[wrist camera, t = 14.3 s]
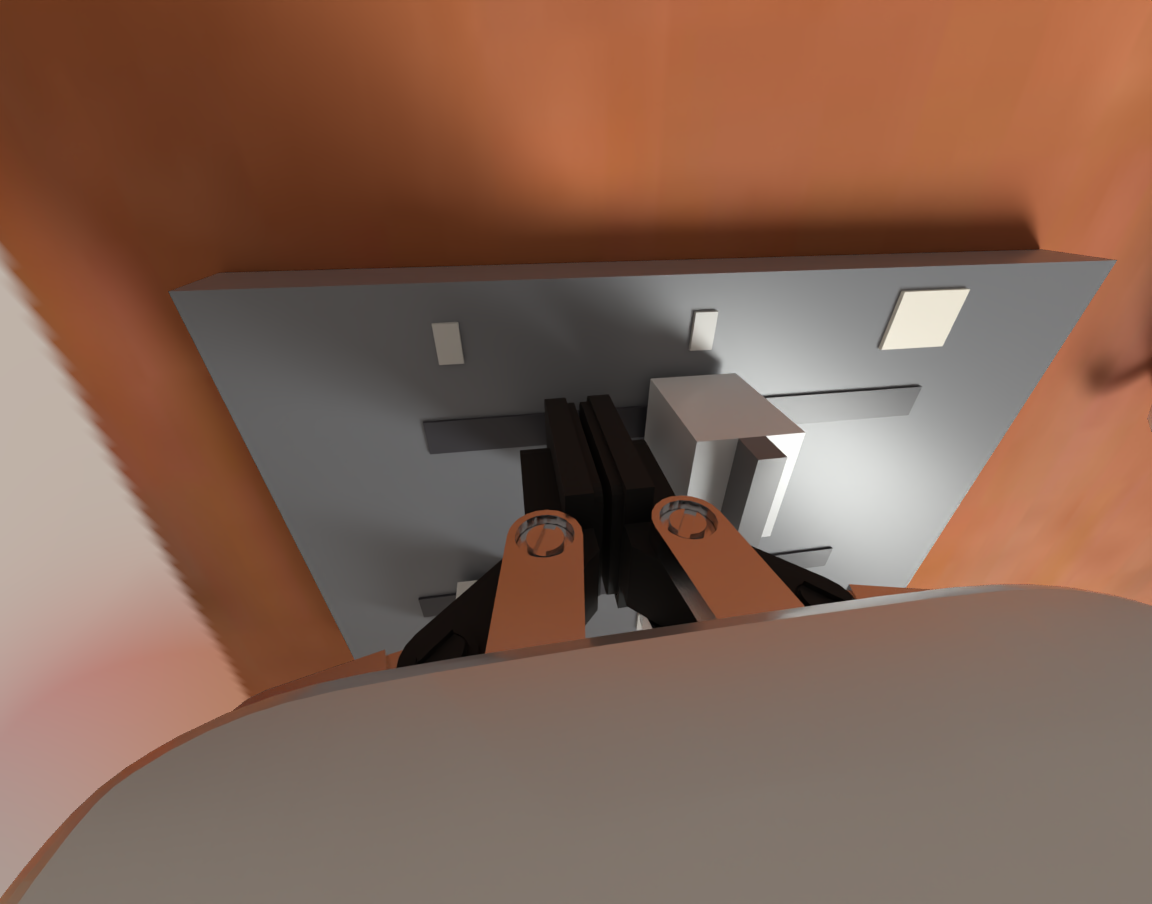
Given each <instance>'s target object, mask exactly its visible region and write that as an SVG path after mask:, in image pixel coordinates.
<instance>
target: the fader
mask: <svg viewBox="0 0 1152 904" xmlns="http://www.w3.org/2000/svg"><path fill="white" fill-rule="evenodd" d="M805 433H806V432H804V431H803V430H802V429H801V428H800V427H799V426H797V425H796V424H795V423H794V422H793V421H792V420H790V419H789V418H788V417H787V416H786V415H784V414H783V413H782V412H781V411H780V410H779V409H777V408H776V407H775V406H774V405H773V404H771V403H770V402H769V401H768V400H767V399H766V398H764V397H763V396H762V395H761V394H760V393H758V392H757V391H756V390H755V389H754V388H753V387H751V386H750V385H749V384H748V383H747V382H746V381H744V380H743V379H742V378H741V377H740V376H738V375H737V374H736V373H730V374H714V375H699V376H683V377H668V378H652V379H650V388H649V398H648V408H647V418H646V427H645V437H644V440H645V441H646V443H647V444H648V446H649V448H650V450H651V451H652V453H653V455H654V457H655V459H656V461H657V462H658V464H659V466H660V468H661V470H662V472H663V473H664V475H665V477H666V479H667V481H668V482H669V484H670V486H671V488H672V490H673V492H674V493H675V495H676V496H680V495H682V496H692V497H695V498H699V499H702V500H704V501H706V502H708V503H710V504H712V505H713V506H715V507H716V508H717V509H718V510H719V511H720V512H721V513H722V514H723V515H724V516H725V517H726V518H727V520H728V521H729V522H730V523H731V524H732V525H733V526H734V527H735V529H736V530H737V531H738V532H739V533H740V534H741V535H742V536H743V537H744V539H745V540H746V541H747V542H748V543H749V544H750V545H751V546H753V547H755V548H758V545H759V542H760V539H761V537H767V536H770V535H771V532H772V529H773V526H774V523H775V520H776V517H777V515H778V512H779V509H780V506H781V503H782V500H783V497H784V494H785V491H786V488H787V486H788V483H789V480H790V477H791V474H792V471H793V468H794V465H795V462H796V459H797V457H798V454H799V451H800V448H801V445H802V442H803V439H804V436H805Z"/></svg>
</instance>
